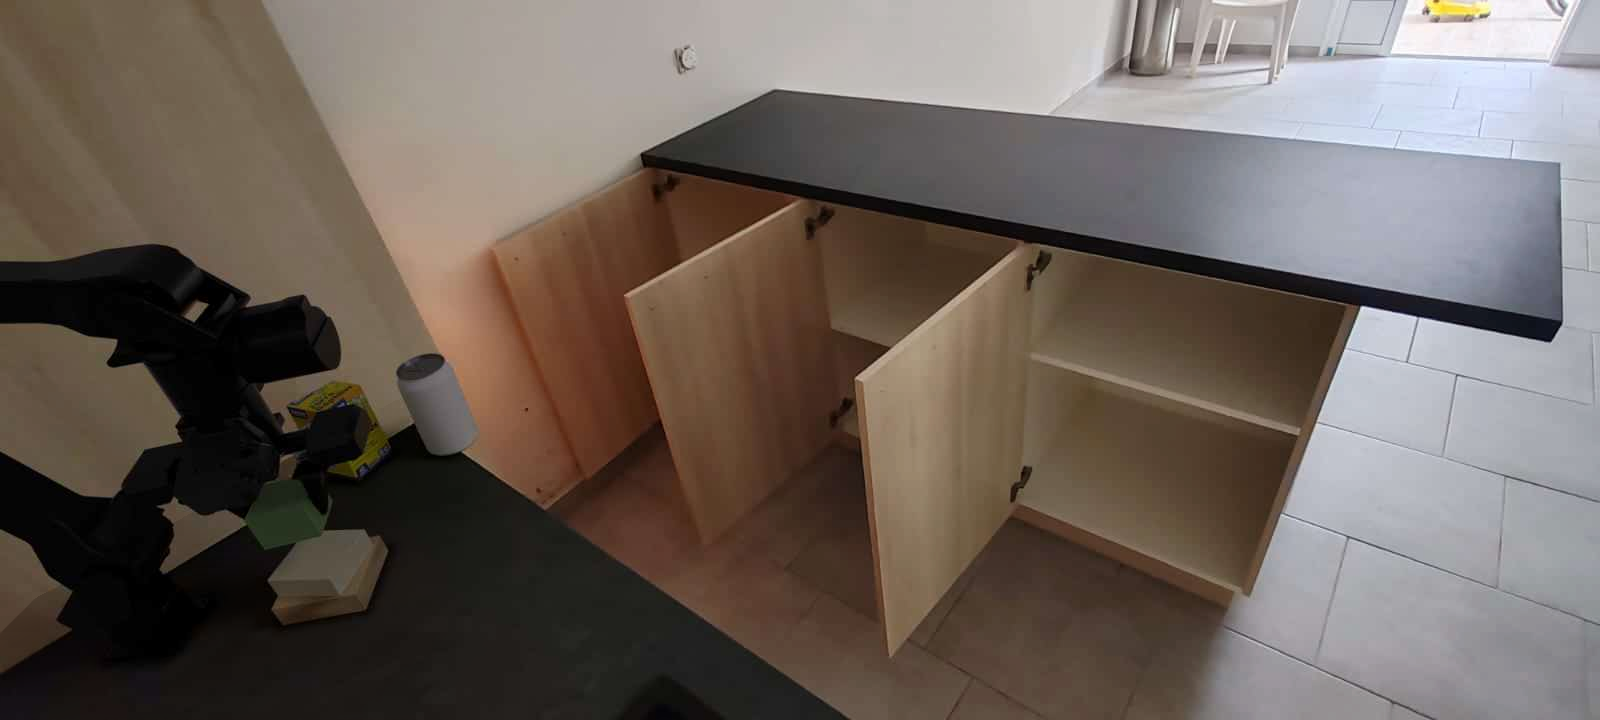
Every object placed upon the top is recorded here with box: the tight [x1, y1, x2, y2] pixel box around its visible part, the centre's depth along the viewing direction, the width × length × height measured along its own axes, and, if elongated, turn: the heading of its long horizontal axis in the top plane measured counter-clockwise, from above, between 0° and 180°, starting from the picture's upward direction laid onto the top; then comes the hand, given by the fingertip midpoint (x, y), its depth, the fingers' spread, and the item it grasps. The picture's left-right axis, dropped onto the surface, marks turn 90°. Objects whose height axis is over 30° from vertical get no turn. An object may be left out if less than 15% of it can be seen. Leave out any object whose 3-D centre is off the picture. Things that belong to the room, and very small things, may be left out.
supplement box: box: [285, 379, 394, 482], centre depth 92 cm, size 6×6×11 cm
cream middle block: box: [266, 529, 374, 597], centre depth 76 cm, size 6×6×2 cm
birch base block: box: [271, 535, 389, 626], centre depth 77 cm, size 8×8×2 cm
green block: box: [243, 477, 334, 551], centre depth 72 cm, size 5×5×4 cm
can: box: [395, 352, 479, 457], centre depth 94 cm, size 6×6×12 cm
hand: (295, 519), depth 72 cm, fingers closed on green block, 5 cm apart
